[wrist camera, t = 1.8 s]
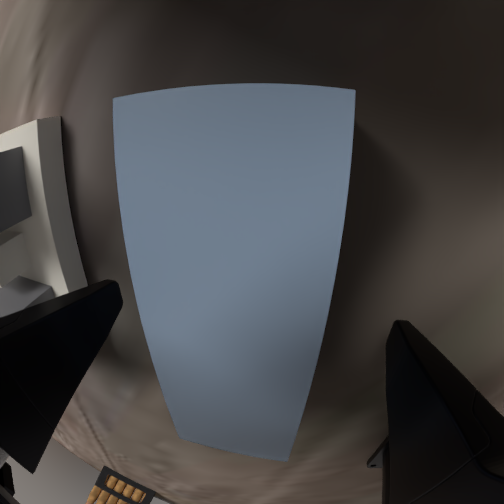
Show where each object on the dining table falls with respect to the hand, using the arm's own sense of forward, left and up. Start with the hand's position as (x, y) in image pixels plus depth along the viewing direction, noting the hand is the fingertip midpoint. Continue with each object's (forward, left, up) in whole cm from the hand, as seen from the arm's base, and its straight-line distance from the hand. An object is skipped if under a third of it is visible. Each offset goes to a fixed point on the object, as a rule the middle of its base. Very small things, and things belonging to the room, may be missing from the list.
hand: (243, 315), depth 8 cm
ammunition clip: (-49, +23, -3) cm, 54 cm away
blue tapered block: (0, 0, -3) cm, 3 cm away
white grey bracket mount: (0, +14, -3) cm, 14 cm away
